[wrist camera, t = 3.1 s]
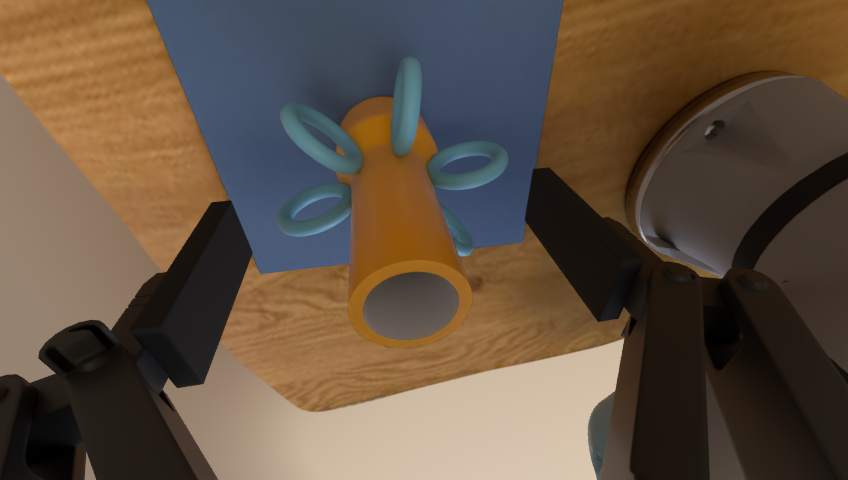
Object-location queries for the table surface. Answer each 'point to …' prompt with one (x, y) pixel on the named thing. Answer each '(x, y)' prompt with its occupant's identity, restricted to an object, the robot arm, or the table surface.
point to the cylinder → (393, 212)
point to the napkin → (349, 85)
